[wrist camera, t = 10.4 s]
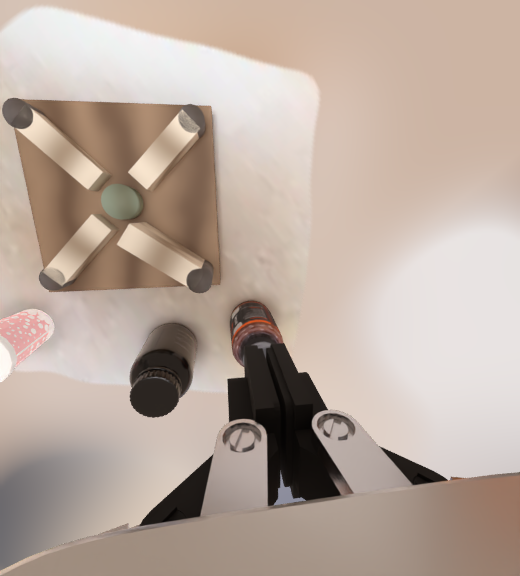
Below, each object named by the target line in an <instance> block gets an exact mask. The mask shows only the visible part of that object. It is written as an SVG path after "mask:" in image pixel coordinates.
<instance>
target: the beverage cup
mask: <svg viewBox="0 0 520 576" xmlns="http://www.w3.org/2000/svg"><path fill="white" fill-rule="evenodd" d="M54 328H55V327H54V323H53V320H52V319H51V318H50V316H49V315H48V314H46V313H45V312H43V311H41V310H37V309H27V310H24V311H21V312H19V313H16V314H14V315H11V316H9V317H6V318H3V319H1V320H0V382H2V381H3V380H5V379H6V378H7V377H8V376H9V375H10V374H11V373H12V372H13V370H14V369H15V367H16V366H17V365H19V364H20V363H21V362H22V361H23V360H24V359H26V358H27V357H28V356H29V355H30V354H31V353H33V352H34V351H35V350H36V349H37V348H38V347H40V346H41V345H42V344H43V343H44V342H45V341H47V340H48V339H49V338H50V337H51V335H52V334H53V332H54Z"/></svg>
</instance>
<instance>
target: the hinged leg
mask: <svg viewBox="0 0 520 576" xmlns="http://www.w3.org/2000/svg"><path fill="white" fill-rule="evenodd" d="M117 245H118V246H120V247H121V248H123V249H125V250H126V251H128V252H130V253H131V254H133V255H135V256H136V257H138V258H140V259H141V260H143V261H145V262H146V263H148V264H150V265H151V266H153V267H155V268H156V269H158V270H160V271H162V272H163V273H165V274H167V275H168V276H170V277H172V278H173V279H175V280H177V281H178V282H180V283H182V284H183V285H185V286H187V287H188V288H189V289H190V290H192V291H193V292H196V293H203V292H206V291H207V290H209V288H210V287H211V285H212V279H213V272H214V268H213V265H212V264H211V263H210V262H209V261H207V260H205V259H203V258H201V257H200V256H198V255H197V254H195V253H194V252H192V251H190V250H189V249H187V248H186V247H184V246H182V245H181V244H179V243H178V242H176V241H175V240H173V239H171V238H170V237H168V236H167V235H165V234H164V233H162V232H160V231H159V230H157V229H156V228H154V227H153V226H151V225H149V224H148V223H146V222H141V223H130V224H129V225H128V226H127V228H126V230H125V231H124V233H123V235H122V237H121V238H120V240H119V242H118V243H117Z"/></svg>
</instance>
